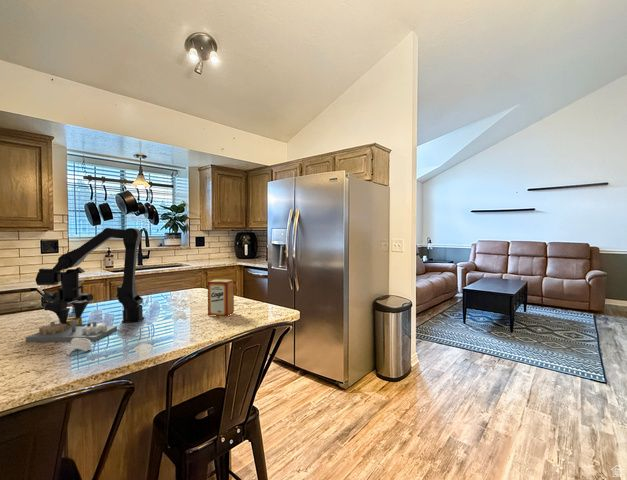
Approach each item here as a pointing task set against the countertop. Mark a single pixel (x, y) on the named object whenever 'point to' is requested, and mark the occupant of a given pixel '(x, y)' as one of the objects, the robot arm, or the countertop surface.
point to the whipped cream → (79, 345)
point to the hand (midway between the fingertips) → (70, 322)
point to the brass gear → (70, 319)
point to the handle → (79, 291)
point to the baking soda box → (220, 297)
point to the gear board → (71, 332)
